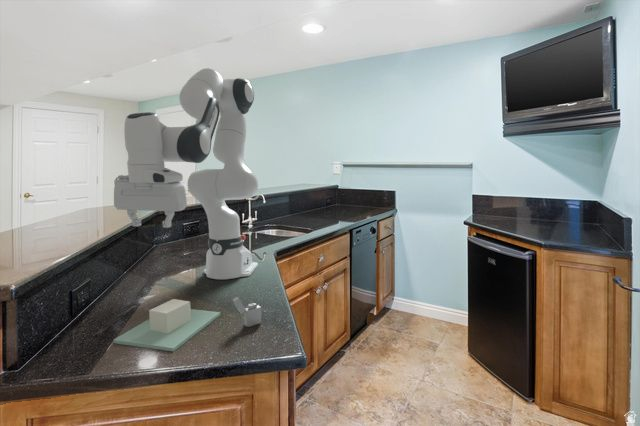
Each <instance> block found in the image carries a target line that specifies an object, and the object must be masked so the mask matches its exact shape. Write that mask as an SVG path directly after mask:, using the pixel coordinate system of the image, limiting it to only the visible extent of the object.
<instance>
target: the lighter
mask: <svg viewBox="0 0 640 426" xmlns="http://www.w3.org/2000/svg"><path fill="white" fill-rule="evenodd" d="M232 302H233V304H234V305H235V308H236V309H237V310H238V313H240V314H241V315H243V321H244V323H243V324H244V326H245V327H246V328H248V327H253V326H255V325H259V324H262V306H260V305H259V304H257V303H255V302H253V303H248V304H247V307H245V306H244V304H243V302H242V299H240V298H239V297H238V296H236V297H234V298H233V299H232Z"/></svg>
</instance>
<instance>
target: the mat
mask: <svg viewBox="0 0 640 426" xmlns="http://www.w3.org/2000/svg"><path fill="white" fill-rule="evenodd" d="M220 316H221V312H220V311H210V310H204V309H203V310H202V309H194V308H192V309H191V321H189V322H187V323H185V324H184V325H182V326H180V327H178V328H177V329H175V330H173V331H172V332H170V333H163V332H158V331H154V330H150V318H148V319H147V320H145V321H143V322H141V323H140V324H138V325H136V326H134V327H133V328H131V329H129V330H128V331H126V332H124V333H122V334H120V335H119V336H117V337H115V338H114V339H113V344H118V345H126V346H131V347H132V346H133V347H138V348H139V347H140V348H145V349H146V348H147V349H154V350H160V351H166V352H167V351H168V352H173V353H174V352H175V351H176V350H178V349H179V348H180V347H182V346H183V345H184V344H186V343H187V342H189V340H191V339H192V338H193V337H194V336H196V335H197V334H198V333H200V332H201V331H202V330H204V329H205V328H206V327H207V326H208V325H210V324H212V322H214V321H215V320H216V319H217V318H219V317H220Z"/></svg>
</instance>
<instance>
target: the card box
mask: <svg viewBox="0 0 640 426" xmlns="http://www.w3.org/2000/svg"><path fill="white" fill-rule="evenodd" d="M148 314H149V315H148V316H149V317H148V318H149V319H150V330H154V331H158V332H163V333H170V332H172V331H173V330H175V329H177V328H178V327H180V326H182V325H184V324H185V323H187V322H189V321H191V301H190V300H189V301H188V300H183V299H176V298H172V299H169V300H168V301H166V302H164V303H161V304H160V305H158V306H156V307H153V308H150V309H149V310H148Z"/></svg>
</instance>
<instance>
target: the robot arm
mask: <svg viewBox="0 0 640 426" xmlns="http://www.w3.org/2000/svg"><path fill="white" fill-rule="evenodd" d="M178 97H179V99H178V100H179V102H180V103H179V104H180V105H181V107H182V110H183V111H185V112H186V114H187V115H189V116H190V117H191V118H193V119H196V122H195V123H194V124H192V125H186V126H171V127H170V126H167V125H165V124H164V123H162V122H161V121H160V120H159V115H158V114H157V113H156V112H148V111H147V112H136V113H131V114H128V115H127V116H126V118H125V121H124V128H123V129H124V130H123V131H124V146H125V149H126V153H127V155H128V158H127V162H126V164H127V174H126V175H123V174H121V175H118V176H116V178H115V179H114V188H113V206H114V208H116V210H118V211H119V210H120V211H122V210H125V211H126V212H127V215H128V217H129V219H130V220H131V225H132V227H140V226H142V219H141V218H139V217H138V214H137V213H138V211H151V212H152V211H153V212H156V211H157V212H164V215H165V216H166V217H165V219H164V220H162V222H161V223H162V227H163V228H166V229H167V228H172V226H173V225H172V221H173V218H174V216H175V214H176V213H175V212H181V211H183V210H186V208H187V205H188V204H187V201H188V200H187V193H186V189H185V186H184V184H183V183H182V181H183V179H184V178H183V174H182V173H181V172H178V171H175V170H171V169H170V168H167V167H165V166H166V165H165V162H168V163H169V162H171V163H172V162H173V163H180V162H181V163H183V162H184V163H185V162H186V163H194V164H195V163H196V164H200V163H202V162H204V161H205V160H206V159H207V158H208V156H209V155H210V152H211V149H212V153H213V156H214V157H215V159H216V160H217V161H219V162H221V163H222V164H224V166H223V168H222V169H218V168H215V169H214V168H213V169H212V168H210V169H209V168H205V169H200V170H199V169H198V170H195V171H193V172H192V173H190V175H188V176H189V177H188V179H187V189H188V192H189V193H190V195H191V196H192V197H194V198H195V199H196V200H197V201H198V202H199V203H200V204H201V206H202V208H203V209H204V212H205V214H206V217H207V223H208V225H207V226H208V238H207V240H208V241H207V245H208V248H209V249H208V250H207V251H206V259H205V260H206V261H205V269H203V271H202V273H203V274H206V277H207V278H209V279H213V280H230V279H231V280H232V279H236V278H243V277H250V276H251V275H252V273H253V272H254V271H255V270H256V269H257V267H258V266H259V263H258V262H257V261H256V262H255V261H253V256H252V252H251V251H250V250H249V249H248V248H246V246H244V242H243V241H246V235H245V234H241V226H240V225H241V224H240V223H241V222H240V220H241V218H240V216H239V214H238V213H237V212H236V211H235V210H233V209H231V208H229V206H228V205H227V204H226V201H225V200H229V201H230V200H234V201H236V200H237V201H239V200H241V201H242V200H246V199H250V198H253V197H254V196H255V195H256V193H257V191H258V186H259V182H258V181H259V180H258V178H257V176H256V175H255V173H254V172H253V171H251V170H250V169H249V168H248V166H247V165H246V162H245V158H244V155H245V153H244V152H245V145H246V144H245V143H246V136H247V119H246V116H245V115H246V114H248V112H249V110H250V109H251V106H252V105H253V103H254V99H255V92H254V89H253V86H252V84H251V82H250V81H249V80H247V79H245V78H242V77H241V78H240V77H239V78H229V79H223V77H222V76H221V74H220V73H219V72H217V71H216V70H214V69H212V68H208V67H207V68H202V69H200V70H199V71H197V72H196V73H194V74H193V75H192V76H191V77H190V78H189V79H188V80H187V82H186V83H185V84H184V86H182V88H181V89H180V92H179V96H178ZM219 117H220V118H219ZM214 134H215V135H214ZM213 137H214V141H213ZM212 141H213V146H212ZM212 147H213V148H212Z"/></svg>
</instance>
